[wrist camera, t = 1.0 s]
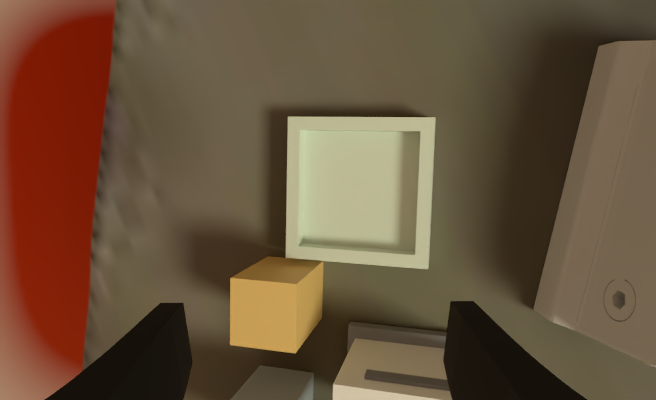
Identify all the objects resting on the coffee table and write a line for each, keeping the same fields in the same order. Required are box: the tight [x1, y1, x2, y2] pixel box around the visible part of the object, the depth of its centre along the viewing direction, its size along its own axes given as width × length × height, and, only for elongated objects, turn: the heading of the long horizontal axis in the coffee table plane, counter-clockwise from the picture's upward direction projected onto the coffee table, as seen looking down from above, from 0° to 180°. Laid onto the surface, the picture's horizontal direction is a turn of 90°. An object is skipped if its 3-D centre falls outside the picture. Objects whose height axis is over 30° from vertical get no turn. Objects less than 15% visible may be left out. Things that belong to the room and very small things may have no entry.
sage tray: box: [286, 117, 436, 269], centre depth 30 cm, size 9×9×2 cm
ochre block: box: [230, 256, 323, 353], centre depth 29 cm, size 4×4×6 cm
